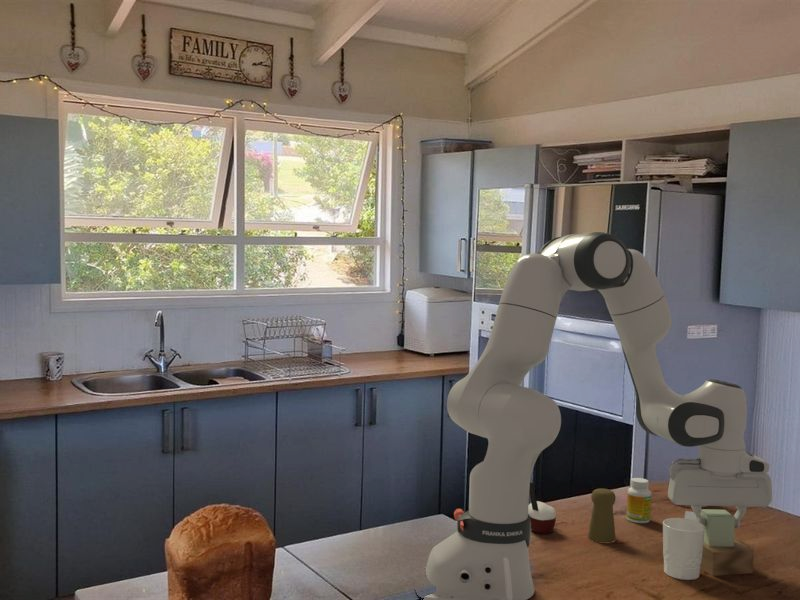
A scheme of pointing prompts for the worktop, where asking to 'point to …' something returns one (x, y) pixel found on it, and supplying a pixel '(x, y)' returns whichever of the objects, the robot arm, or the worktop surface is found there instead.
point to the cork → (602, 516)
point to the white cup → (682, 547)
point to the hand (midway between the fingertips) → (717, 526)
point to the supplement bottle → (639, 501)
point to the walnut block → (727, 559)
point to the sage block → (719, 528)
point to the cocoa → (540, 514)
